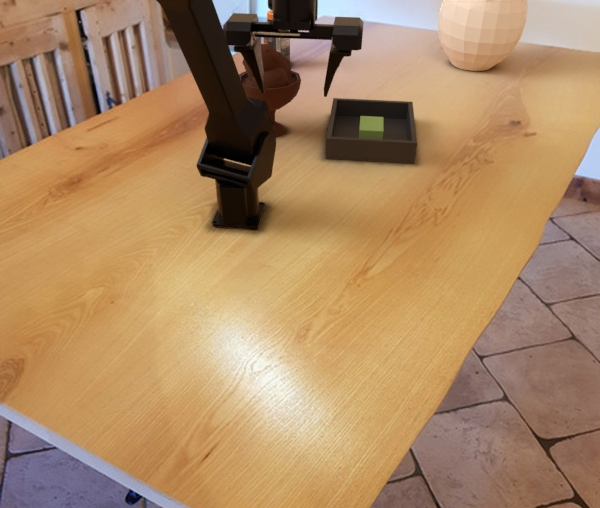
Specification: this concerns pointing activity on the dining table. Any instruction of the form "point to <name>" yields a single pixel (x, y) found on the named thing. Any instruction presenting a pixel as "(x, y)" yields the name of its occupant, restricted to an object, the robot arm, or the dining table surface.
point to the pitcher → (480, 31)
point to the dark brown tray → (391, 148)
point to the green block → (371, 127)
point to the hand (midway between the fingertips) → (294, 94)
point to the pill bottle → (278, 40)
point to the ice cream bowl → (273, 83)
